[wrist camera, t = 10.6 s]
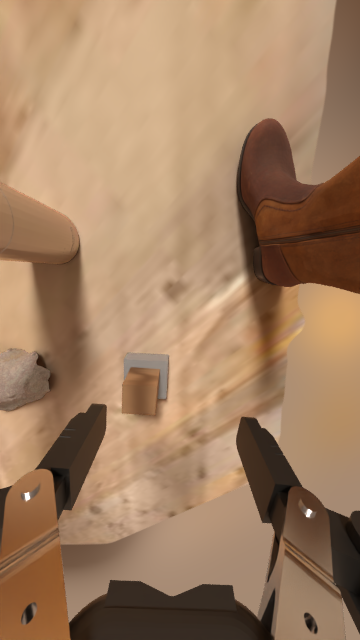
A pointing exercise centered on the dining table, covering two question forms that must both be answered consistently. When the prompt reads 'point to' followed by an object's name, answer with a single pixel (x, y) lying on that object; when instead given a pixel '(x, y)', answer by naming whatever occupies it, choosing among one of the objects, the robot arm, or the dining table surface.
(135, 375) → the walnut cube
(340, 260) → the boot
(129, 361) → the slate block
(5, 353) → the stone
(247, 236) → the dining table surface
